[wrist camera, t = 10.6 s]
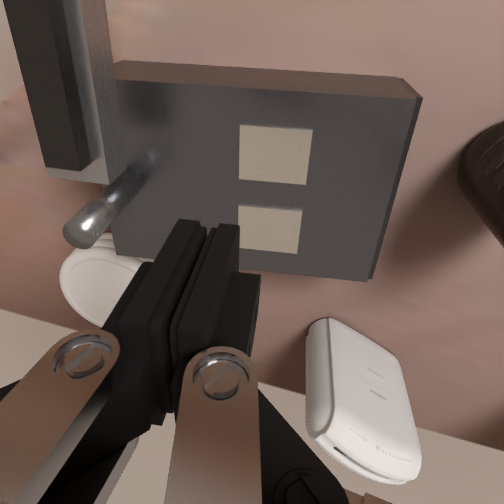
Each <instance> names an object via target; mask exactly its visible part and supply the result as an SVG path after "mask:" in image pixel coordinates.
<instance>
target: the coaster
mask: <svg viewBox="0 0 504 504" xmlns="http://www.w3.org/2000/svg"><path fill="white" fill-rule="evenodd" d="M154 260H155V259H148V258H139V257H130V256H120V255H116V251H115V247H114V242H113V237H112V233H110V232H109V233H103V234H102V235H101V236H100V238H99V239H98V240H97V241H96V242H95V243H94V245H93V246H92V247H91V248H89V249H78V248H76V249H75V250H74V251H73V252H72V253H71V255H70V256H68V257H67V258H66V260H65V261H64V263H63V265H62V267H61V270H60V274H59V281H60V286H61V290H62V292H63V294H64V296H65V298H66V300H67V301H68V303H69V304H70V305H71V306H72V308H73V309H74V310H75V311H76V312H77V313H78V314H80V315H81V316H82V317H83V318H85V319H86V320H88V321H90V322H91V323H93V324H95V325H97V326H99V327H102V326H103V325H104V323H105V321H106V320H107V318H108V317H109V315H110V313H111V312H112V310H113V309H114V307H115V305H116V304H117V302H118V301H119V299H120V297H121V296H122V294H123V293H124V291H125V289H126V288H127V286H128V285H129V283H130V281H131V280H132V278H133V277H134V275H135V273H136V272H137V270H138V268H139V267H140V265H141V264H142V263H143V262H145V261H149V262H154Z"/></svg>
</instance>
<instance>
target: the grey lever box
mask: <svg viewBox="0 0 504 504" xmlns="http://www.w3.org/2000/svg"><path fill="white" fill-rule="evenodd" d="M113 67H114V75H115V83H116V91H117V99H118V107H119V115H120V123H121V131H122V139H123V147H124V155H125V163H126V169H125V170H124V171H123V172H122V173H121V174H120V175H119V176H118V177H117V178H116V179H115V180H114V181H113V182H112V183H111V184H110V185H106V184H101V185H102V190H101V191H100V192H99V193H98V194H97V195H96V196H95V197H94V198H93V199H92V200H91V201H89V202H88V203H87V204H86V205H85V206H84V207H83V208H82V209H81V210H80V211H79V212H78V213H77V214H76V215H75V216H74V217H73V218H72V219H71V220H69V221H68V222H67V223H66V224H65V225H64V227H63V236H64V238H65V239H66V241H67V242H68V243H69V244H71V245H72V246H74V247H76V248H78V249H89V248H91V247H92V246H93V245H94V243H95V242H96V241H97V240H98V239H99V238H100V236H101V235H102V234H103V233H104V232H105V231H106V229H107V228H108V227H109V226H110V228H111V232H112V237H113V242H114V247H115V251H116V255H120V256H130V257H139V258H148V259H155V258H156V257H157V255H158V253H159V251H160V250H161V248H162V246H163V245H164V243H165V241H166V239H167V238H168V236H169V234H170V233H171V231H172V229H173V227H174V226H175V224H176V222H177V221H178V219H188V220H197V221H200V224H201V226H204V227H206V228H207V236H208V234H209V232H210V229H211V228H212V227H213V228H218V225H219V223H224V224H233V225H240V247H239V268H241V269H250V270H259V271H269V272H278V273H287V274H296V275H306V276H315V277H324V278H333V279H343V280H352V281H361V282H367V279H372V277H373V273H374V270H375V266H376V263H377V259H378V256H379V252H380V249H381V245H382V242H383V238H384V234H385V231H386V227H387V224H388V220H389V217H390V213H391V210H392V206H393V203H394V199H395V195H396V192H397V188H398V185H399V181H400V178H401V174H402V171H403V167H404V164H405V160H406V156H407V153H408V149H409V146H410V142H411V139H412V135H413V132H414V128H415V125H416V121H417V117H418V114H419V110H420V107H421V103H422V100H423V97H422V96H421V95H419V94H418V93H417V92H416V91H415V90H414V89H413V88H412V87H411V86H410V85H409V84H408V83H407V82H406V81H405V80H404V79H402V78H396V77H387V76H371V75H355V74H338V73H322V72H306V71H289V70H273V69H257V68H241V67H224V66H208V65H192V64H175V63H159V62H143V61H127V60H123V61H120V62H117V63H115V64H113Z"/></svg>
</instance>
